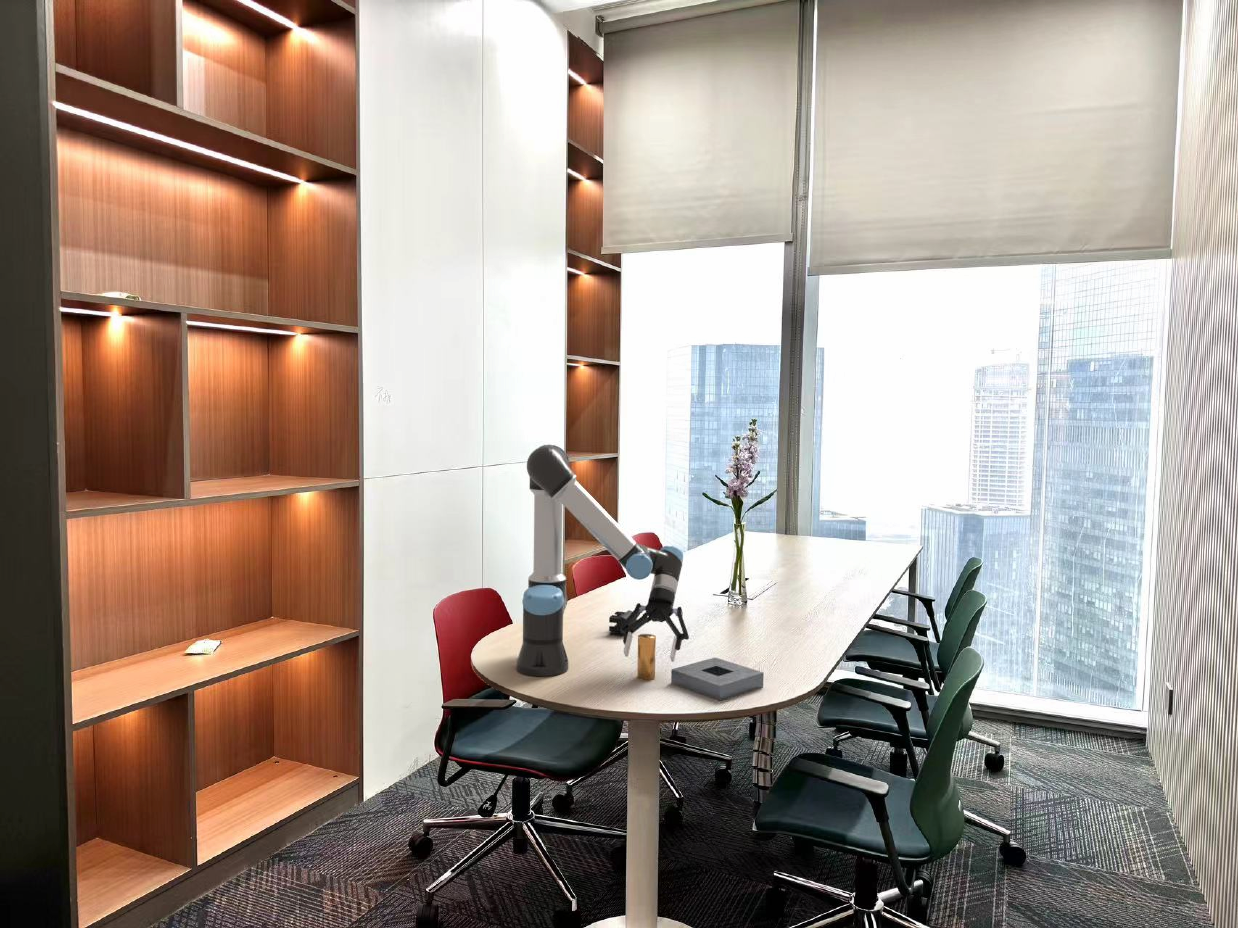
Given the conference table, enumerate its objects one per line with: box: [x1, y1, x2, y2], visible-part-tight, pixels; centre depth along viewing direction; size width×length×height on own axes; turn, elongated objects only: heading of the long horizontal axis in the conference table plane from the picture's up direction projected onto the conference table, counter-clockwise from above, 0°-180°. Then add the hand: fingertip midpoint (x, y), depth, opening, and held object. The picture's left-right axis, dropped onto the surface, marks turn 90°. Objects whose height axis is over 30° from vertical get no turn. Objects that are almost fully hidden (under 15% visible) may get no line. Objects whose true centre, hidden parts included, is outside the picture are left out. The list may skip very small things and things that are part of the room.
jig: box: [670, 657, 764, 702], centre depth 231 cm, size 18×18×4 cm
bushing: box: [636, 633, 657, 681], centre depth 236 cm, size 5×5×12 cm
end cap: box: [608, 609, 638, 637], centre depth 284 cm, size 10×7×7 cm
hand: (648, 656), depth 236 cm, fingers open, 13 cm apart
